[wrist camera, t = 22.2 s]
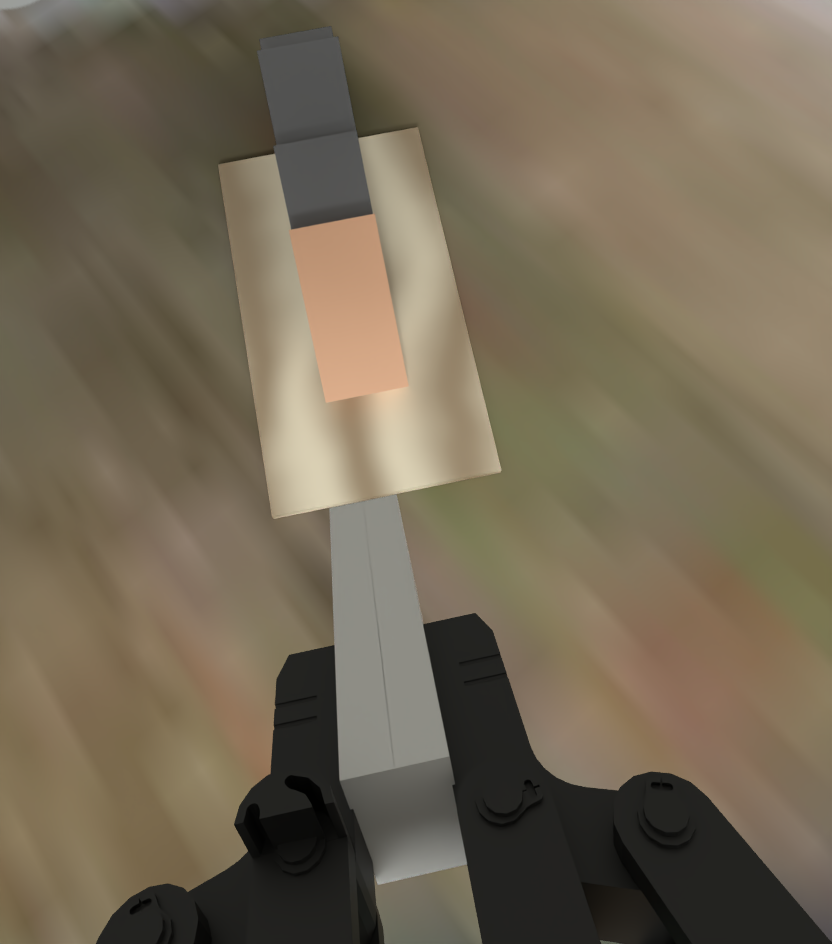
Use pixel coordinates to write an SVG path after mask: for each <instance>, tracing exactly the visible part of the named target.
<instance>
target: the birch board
mask: <svg viewBox="0 0 832 944" xmlns="http://www.w3.org/2000/svg"><path fill="white" fill-rule="evenodd" d="M358 140H359V145H360V150H361V155H362V160H363V166H364V171H365V176H366V181H367V186H368V191H369V196H370V201H371V206H372V211H373V214H375V218H376V223H377V228H378V233H379V238H380V243H381V248H382V253H383V258H384V263H385V268H386V273H387V278H388V284H389V289H390V294H391V299H392V304H393V309H394V314H395V319H396V324H397V329H398V334H399V339H400V344H401V349H402V354H403V360H404V365H405V370H406V375H407V380H408V385H409V386H408V387H403V388H398V389H393V390H388V391H383V392H378V393H373V394H368V395H363V396H358V397H353V398H348V399H343V400H338V401H333V402H328V403H326V401H325V397H324V392H323V387H322V383H321V378H320V373H319V369H318V364H317V359H316V355H315V350H314V345H313V341H312V336H311V331H310V327H309V322H308V317H307V313H306V308H305V303H304V299H303V294H302V289H301V285H300V280H299V275H298V271H297V266H296V262H295V257H294V252H293V248H292V243H291V238H290V234H289V230H291V226H290V221H289V217H288V212H287V207H286V203H285V198H284V193H283V189H282V184H281V179H280V175H279V170H278V166H277V161H276V156H275V154H271V155H266V156H261V157H255V158H250V159H245V160H239V161H234V162H229V163H223V164H218V168H219V175H220V181H221V188H222V194H223V201H224V207H225V214H226V220H227V227H228V233H229V240H230V246H231V253H232V259H233V266H234V272H235V279H236V285H237V292H238V298H239V305H240V311H241V318H242V324H243V331H244V337H245V344H246V350H247V357H248V363H249V370H250V376H251V383H252V389H253V396H254V402H255V409H256V415H257V422H258V428H259V435H260V441H261V448H262V454H263V461H264V467H265V474H266V480H267V487H268V493H269V500H270V506H271V513H272V517H273V518H274V519H276V518H280V517H285V516H290V515H295V514H300V513H305V512H310V511H315V510H320V509H324V508H329V507H334V506H339V505H344V504H349V503H354V502H359V501H364V500H369V499H373V498H378V497H383V496H388V495H393V494H398V493H403V492H408V491H413V490H418V489H422V488H427V487H432V486H437V485H442V484H447V483H452V482H457V481H462V480H466V479H471V478H476V477H481V476H486V475H491V474H496V473H500V472H501V467H500V462H499V458H498V454H497V450H496V446H495V442H494V438H493V434H492V430H491V425H490V421H489V417H488V413H487V409H486V405H485V401H484V397H483V393H482V389H481V384H480V380H479V376H478V372H477V368H476V364H475V360H474V356H473V352H472V347H471V343H470V339H469V335H468V331H467V327H466V323H465V319H464V315H463V310H462V306H461V302H460V298H459V294H458V290H457V286H456V282H455V278H454V274H453V269H452V265H451V261H450V257H449V253H448V249H447V245H446V241H445V237H444V232H443V228H442V224H441V220H440V216H439V212H438V208H437V204H436V200H435V195H434V191H433V187H432V183H431V179H430V175H429V171H428V167H427V163H426V159H425V154H424V150H423V146H422V142H421V138H420V134H419V130H418V127H415V128H410V129H405V130H399V131H394V132H389V133H383V134H378V135H373V136H367V137H362V138H358Z"/></svg>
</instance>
